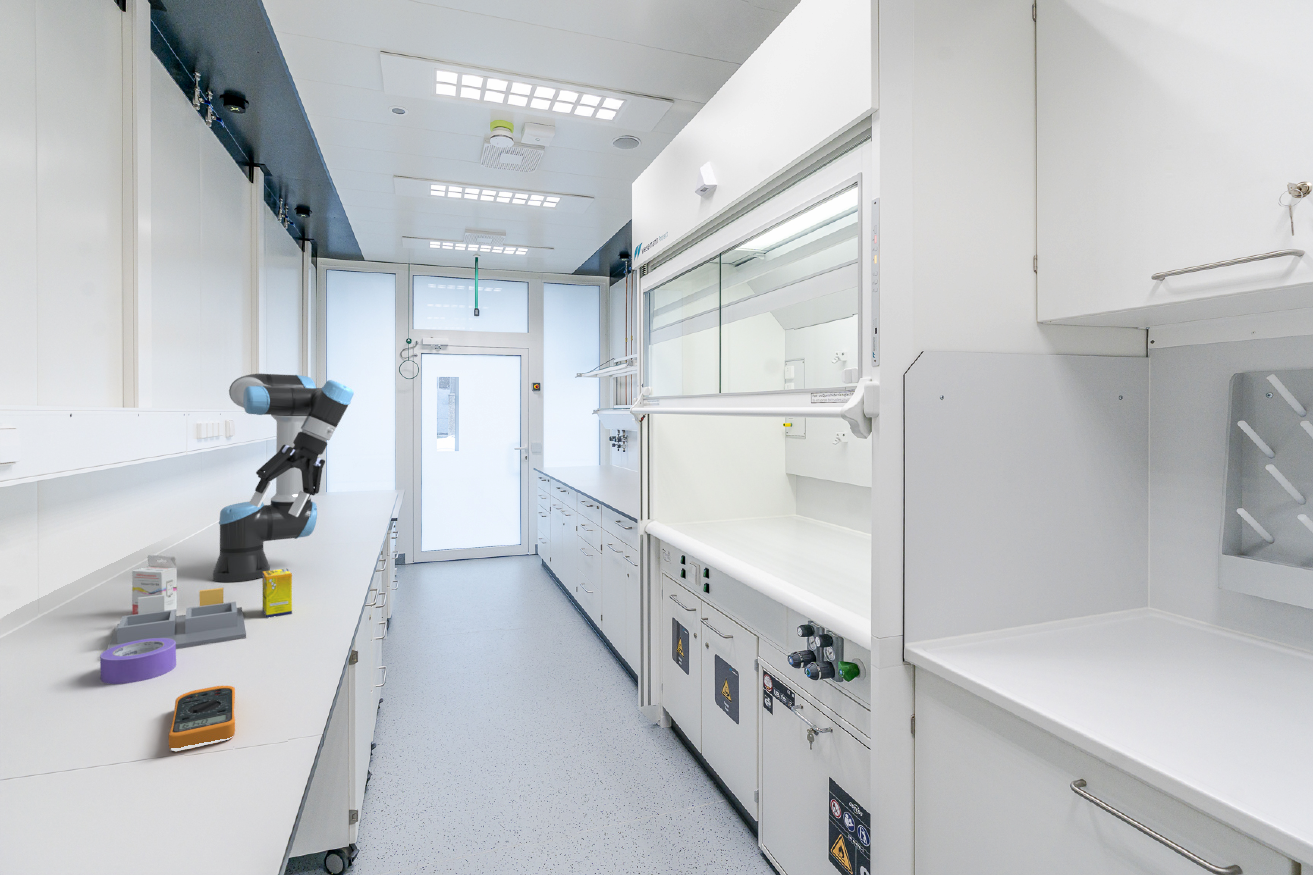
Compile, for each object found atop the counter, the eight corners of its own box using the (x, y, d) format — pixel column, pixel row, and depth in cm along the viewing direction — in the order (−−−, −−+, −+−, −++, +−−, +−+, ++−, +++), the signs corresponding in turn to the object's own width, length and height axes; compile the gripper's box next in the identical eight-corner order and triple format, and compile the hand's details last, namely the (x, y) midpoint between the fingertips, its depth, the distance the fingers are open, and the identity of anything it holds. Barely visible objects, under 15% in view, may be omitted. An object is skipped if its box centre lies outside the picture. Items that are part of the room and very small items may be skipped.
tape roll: (95, 689, 119) (94, 663, 119) (106, 668, 129) (105, 644, 129) (173, 676, 125) (173, 651, 125) (178, 657, 135) (178, 634, 135)
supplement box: (261, 612, 165) (261, 571, 165) (288, 608, 169) (287, 568, 169) (265, 618, 161) (265, 575, 160) (292, 613, 165) (292, 572, 164)
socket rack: (117, 627, 152) (117, 599, 152) (241, 610, 166) (241, 584, 166) (104, 660, 132) (103, 627, 132) (246, 637, 147) (245, 608, 147)
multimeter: (234, 699, 116) (234, 681, 116) (235, 742, 101) (235, 721, 101) (176, 710, 112) (176, 691, 111) (168, 757, 97) (167, 735, 97)
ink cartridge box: (130, 615, 161) (130, 558, 160) (148, 609, 166) (147, 554, 165) (161, 617, 160) (161, 560, 160) (178, 611, 165) (177, 555, 164)
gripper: (291, 426, 155) (247, 506, 150) (354, 453, 178) (317, 523, 174) (268, 416, 157) (224, 495, 152) (333, 444, 180) (296, 513, 176)
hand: (274, 510), depth 163 cm, fingers open, 13 cm apart
